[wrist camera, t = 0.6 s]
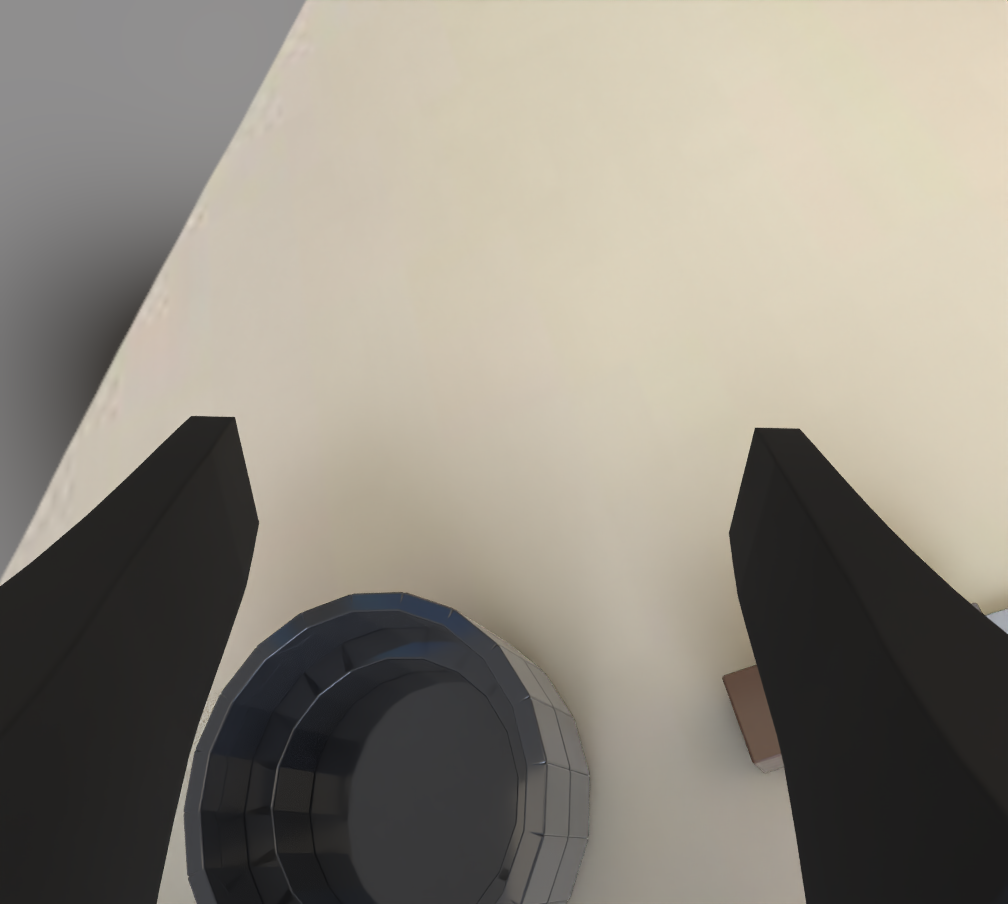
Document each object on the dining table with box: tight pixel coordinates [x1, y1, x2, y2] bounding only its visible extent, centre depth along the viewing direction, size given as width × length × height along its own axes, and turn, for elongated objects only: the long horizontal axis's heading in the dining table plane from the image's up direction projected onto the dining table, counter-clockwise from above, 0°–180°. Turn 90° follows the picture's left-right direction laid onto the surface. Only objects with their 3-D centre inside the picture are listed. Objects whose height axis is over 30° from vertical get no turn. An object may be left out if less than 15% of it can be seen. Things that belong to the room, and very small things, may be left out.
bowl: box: [184, 592, 590, 904], centre depth 27 cm, size 11×11×5 cm
